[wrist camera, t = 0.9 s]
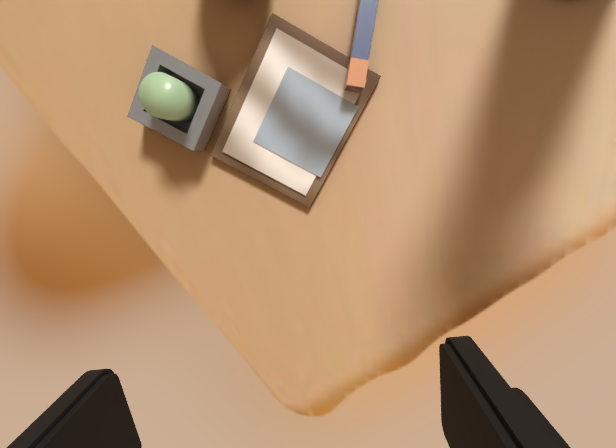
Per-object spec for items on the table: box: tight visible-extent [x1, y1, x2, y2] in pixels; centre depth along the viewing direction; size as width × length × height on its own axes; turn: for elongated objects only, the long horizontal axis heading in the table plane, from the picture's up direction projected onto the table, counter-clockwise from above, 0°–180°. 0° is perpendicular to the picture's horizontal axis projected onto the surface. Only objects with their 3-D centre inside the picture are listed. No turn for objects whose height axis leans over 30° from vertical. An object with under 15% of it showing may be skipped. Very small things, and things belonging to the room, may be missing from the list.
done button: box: [139, 72, 199, 122], centre depth 28 cm, size 4×4×4 cm
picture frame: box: [211, 13, 381, 208], centre depth 31 cm, size 15×12×1 cm
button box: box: [128, 45, 231, 151], centre depth 30 cm, size 7×7×3 cm
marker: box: [344, 0, 379, 93], centre depth 28 cm, size 10×2×2 cm, turn 171°
